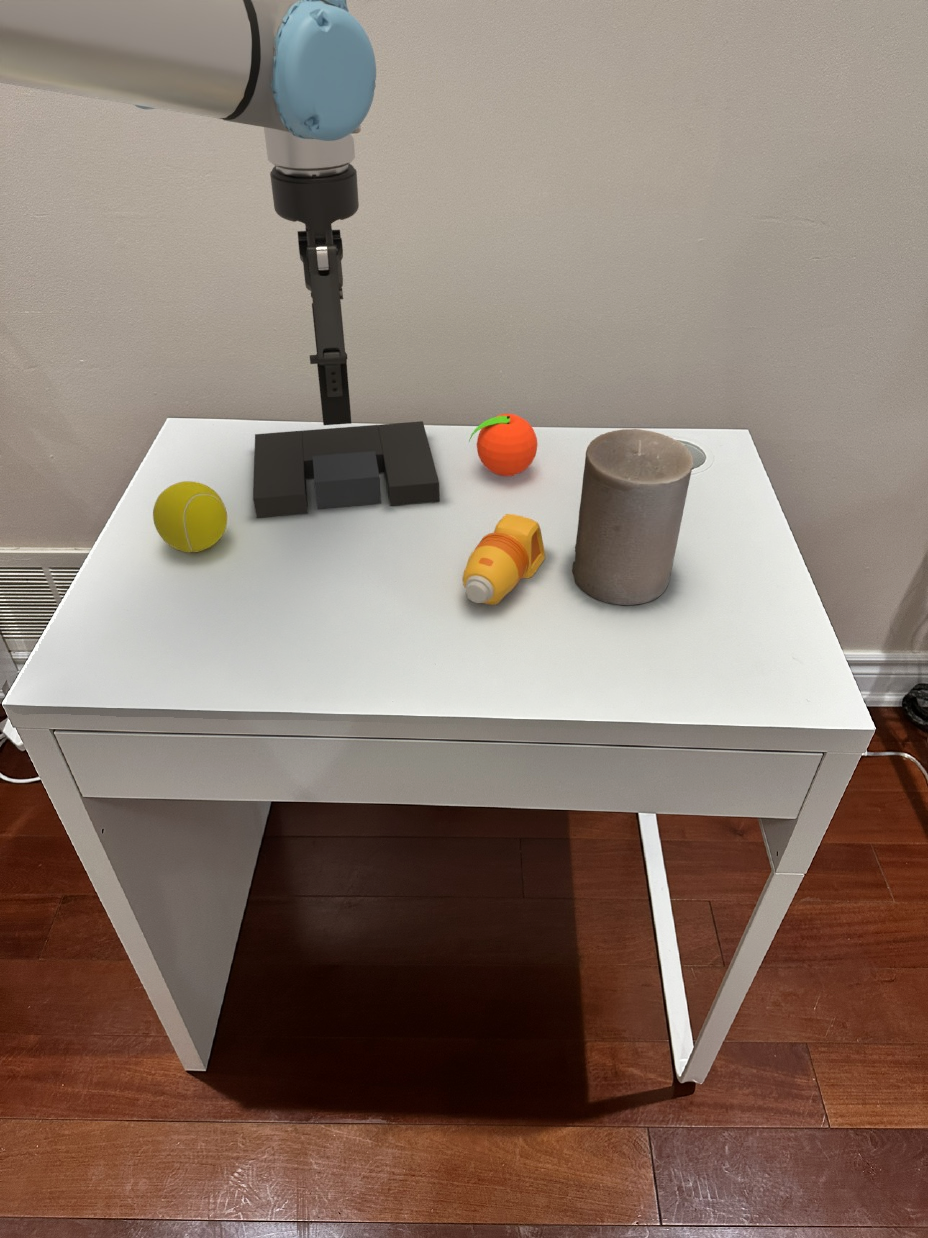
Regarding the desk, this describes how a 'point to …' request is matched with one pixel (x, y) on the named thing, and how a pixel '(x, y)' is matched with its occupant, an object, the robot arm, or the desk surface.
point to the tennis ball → (190, 516)
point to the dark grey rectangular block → (346, 480)
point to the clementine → (506, 444)
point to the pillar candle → (630, 515)
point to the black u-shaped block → (291, 453)
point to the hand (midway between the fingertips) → (333, 391)
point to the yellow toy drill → (503, 559)
